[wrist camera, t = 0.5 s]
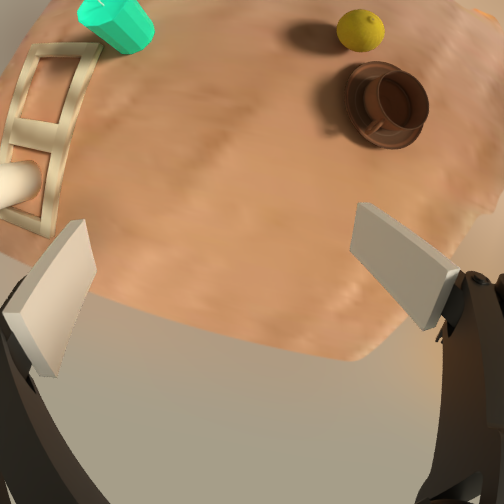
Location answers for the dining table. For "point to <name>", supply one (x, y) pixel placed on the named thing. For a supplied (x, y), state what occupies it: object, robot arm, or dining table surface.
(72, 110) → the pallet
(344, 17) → the lemon
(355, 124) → the cup and saucer
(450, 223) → the dining table surface
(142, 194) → the dining table surface
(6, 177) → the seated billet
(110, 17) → the candle
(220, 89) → the dining table surface
